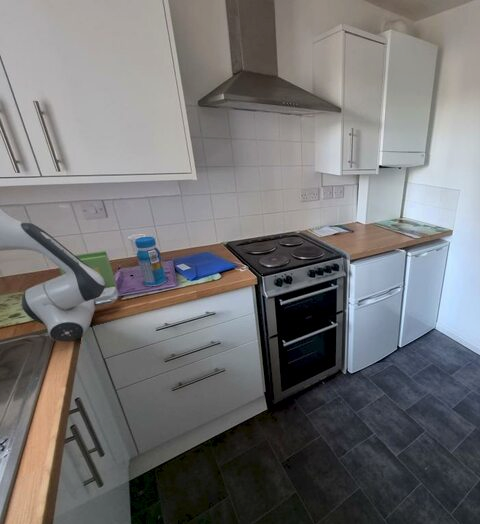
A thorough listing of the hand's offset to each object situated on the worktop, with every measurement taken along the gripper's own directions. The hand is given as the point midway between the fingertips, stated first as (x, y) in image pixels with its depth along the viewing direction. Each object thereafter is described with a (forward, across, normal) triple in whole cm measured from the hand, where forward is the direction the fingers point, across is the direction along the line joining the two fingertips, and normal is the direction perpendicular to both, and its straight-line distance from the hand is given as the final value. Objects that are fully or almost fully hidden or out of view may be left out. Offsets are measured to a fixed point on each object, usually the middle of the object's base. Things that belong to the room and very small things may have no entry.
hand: (85, 291), depth 108 cm
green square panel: (+12, 0, +6) cm, 14 cm away
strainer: (+40, -16, +6) cm, 44 cm away
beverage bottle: (+10, -21, +6) cm, 24 cm away
